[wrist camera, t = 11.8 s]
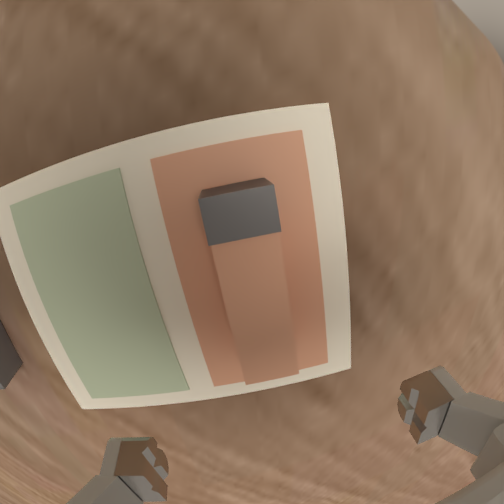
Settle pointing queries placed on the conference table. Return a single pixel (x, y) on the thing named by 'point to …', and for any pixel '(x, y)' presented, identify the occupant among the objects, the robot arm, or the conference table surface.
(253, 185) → the terracotta marker
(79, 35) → the conference table surface
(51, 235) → the picture board
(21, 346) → the conference table surface
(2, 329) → the button base
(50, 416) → the conference table surface
